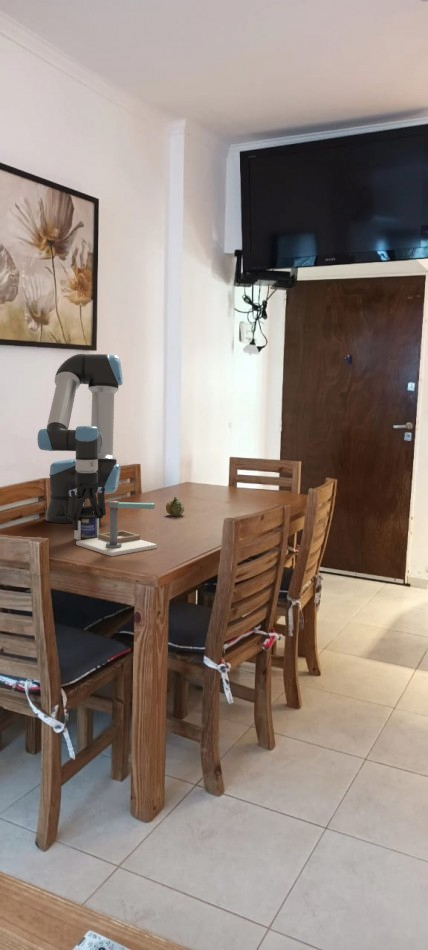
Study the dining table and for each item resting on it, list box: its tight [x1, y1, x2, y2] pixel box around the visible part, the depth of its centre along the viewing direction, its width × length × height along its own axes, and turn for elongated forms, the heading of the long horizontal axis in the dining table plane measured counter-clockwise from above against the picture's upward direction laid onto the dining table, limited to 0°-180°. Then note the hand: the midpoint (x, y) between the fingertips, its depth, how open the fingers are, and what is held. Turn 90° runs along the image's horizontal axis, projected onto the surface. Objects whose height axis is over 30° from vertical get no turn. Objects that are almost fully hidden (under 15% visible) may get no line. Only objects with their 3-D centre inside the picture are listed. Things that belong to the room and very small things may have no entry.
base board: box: [75, 508, 158, 557], centre depth 231 cm, size 20×18×14 cm
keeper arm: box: [107, 500, 156, 510], centre depth 225 cm, size 15×4×2 cm, turn 89°
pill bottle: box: [79, 505, 97, 540], centre depth 242 cm, size 6×6×11 cm
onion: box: [165, 496, 185, 517], centre depth 288 cm, size 8×8×8 cm
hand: (86, 537), depth 243 cm, fingers open, 7 cm apart
